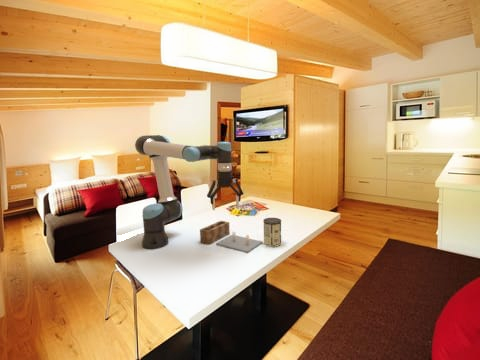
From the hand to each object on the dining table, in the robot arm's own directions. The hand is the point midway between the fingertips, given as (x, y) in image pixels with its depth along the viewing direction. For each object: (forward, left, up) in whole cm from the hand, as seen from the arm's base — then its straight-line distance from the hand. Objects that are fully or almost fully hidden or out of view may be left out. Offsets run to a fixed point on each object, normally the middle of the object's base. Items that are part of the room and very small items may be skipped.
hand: (225, 208), depth 149 cm
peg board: (+3, +8, -23) cm, 24 cm away
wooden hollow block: (-15, +8, -23) cm, 29 cm away
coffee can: (+19, +19, -23) cm, 35 cm away
